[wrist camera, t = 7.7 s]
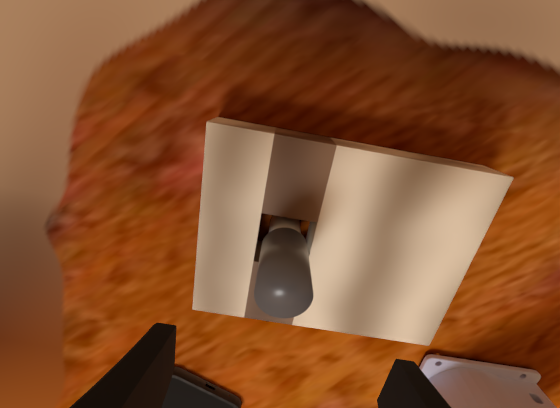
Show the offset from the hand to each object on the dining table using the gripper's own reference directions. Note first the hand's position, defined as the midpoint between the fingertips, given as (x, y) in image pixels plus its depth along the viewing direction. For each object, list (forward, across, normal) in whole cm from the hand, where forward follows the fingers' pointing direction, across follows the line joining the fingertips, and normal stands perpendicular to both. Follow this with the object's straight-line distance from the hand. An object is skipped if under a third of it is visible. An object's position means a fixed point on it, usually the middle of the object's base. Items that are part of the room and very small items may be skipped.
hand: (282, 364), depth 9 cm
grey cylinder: (+10, 0, 0) cm, 10 cm away
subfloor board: (+10, -3, 0) cm, 11 cm away
